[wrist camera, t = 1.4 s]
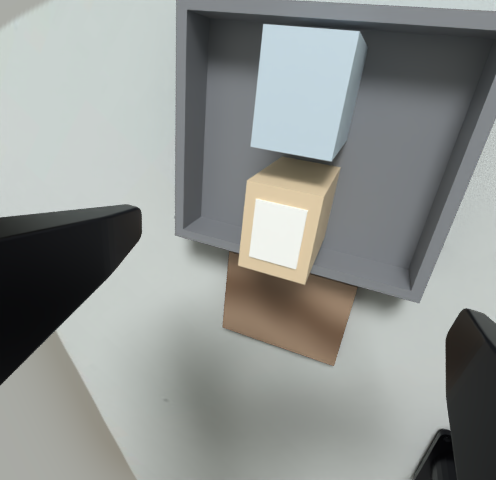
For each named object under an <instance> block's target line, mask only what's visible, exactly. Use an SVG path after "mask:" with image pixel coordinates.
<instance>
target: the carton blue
mask: <svg viewBox="0 0 496 480" xmlns="http://www.w3.org/2000/svg"><path fill="white" fill-rule="evenodd" d="M367 51H368V47H367V45H366V43H365V41H364V39H363V37H362V35H361V33H360V31H350V30H337V29H324V28H311V27H297V26H284V25H271V24H263V32H262V42H261V51H260V61H259V71H258V80H257V90H256V99H255V109H254V118H253V128H252V137H251V147H255V148H260V149H266V150H271V151H277V152H282V153H288V154H293V155H299V156H304V157H309V158H315V159H320V160H326V161H331V162H332V160H333V159H334V158H335V156H336V155H337V153H338V152H339V151H340V149H341V148H342V147H343V145H344V144H345V143H346V141H347V138H348V133H349V129H350V125H351V120H352V116H353V112H354V107H355V103H356V99H357V94H358V90H359V86H360V81H361V77H362V73H363V68H364V64H365V60H366V55H367Z"/></svg>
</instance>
